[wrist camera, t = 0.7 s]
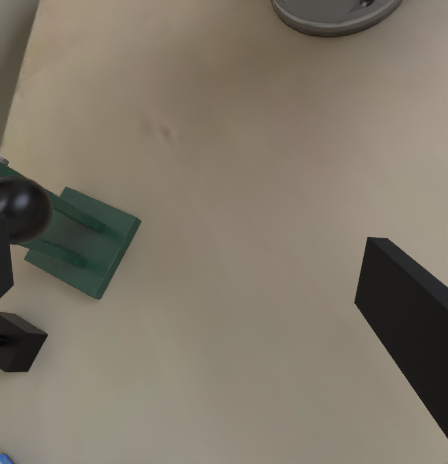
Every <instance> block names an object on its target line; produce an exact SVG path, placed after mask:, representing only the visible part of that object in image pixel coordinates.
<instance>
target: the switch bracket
mask: <svg viewBox="0 0 448 464" xmlns="http://www.w3.org/2000/svg"><path fill="white" fill-rule="evenodd" d="M8 163H9V161H7V160H6V159H4V158H2V157H1V156H0V178H1V177H5V176H21V177H25V176H23V175H21V174H20V173H18V172H16V171H15V170H13V169H11V168H10V167H8V166H7V165H8ZM25 178H26V177H25ZM42 188H43V187H42ZM43 189H44V190H45V191H46V192H47V194H48V195H49V197H50V199H51V202H52V207H53V215H52V220H51V223H50V225H49V227H48V228H47V230H46V231H45V232H44V233H43V234H42V235H41V236H40V237H38V238H37V239H35V240H33V241H31V242H28V243H25V244H19V245H20V246H23V247H26V248H28V249H29V251H28V253H27V255H26V256H25V258H24V260H26V261H28V262H30V263H31V264H33V265H35V266H37V267H39V268H40V269H42V270H44V271H46V272H48V273H50V274H51V275H53V276H55V277H57V278H59V279H60V280H62V281H64V282H66V283H68V284H69V285H71V286H73V287H75V288H77V289H79V290H80V291H82V292H84V293H86V294H88V295H89V296H91V297H93V298H96V299H101V297H102V295H103V293H104V291H105V289H106V287H107V285H108V283H109V282H110V280H111V278H112V276H113V274H114V272H115V270H116V268H117V266H118V265H119V263H120V261H121V259H122V257H123V255H124V253H125V251H126V249H127V248H128V246H129V244H130V242H131V240H132V238H133V236H134V234H135V232H136V231H137V229H138V227H139V225H140V223H141V220H139V219H138V218H137V217H134V216H132V215H130V214H127V213H125V212H123V211H121V210H118V209H116V208H114V207H111V206H109V205H107V204H105V203H102V202H100V201H98V200H95V199H93V198H91V197H89V196H86V195H84V194H82V193H79V192H77V191H75V190H72V189H70V188H68V187H65V189H64V190H63V192H62V194H61V195H60V197H58V196H57V195H55V194H53V193H52V192H50V191H48V190H47V189H45V188H43Z"/></svg>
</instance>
